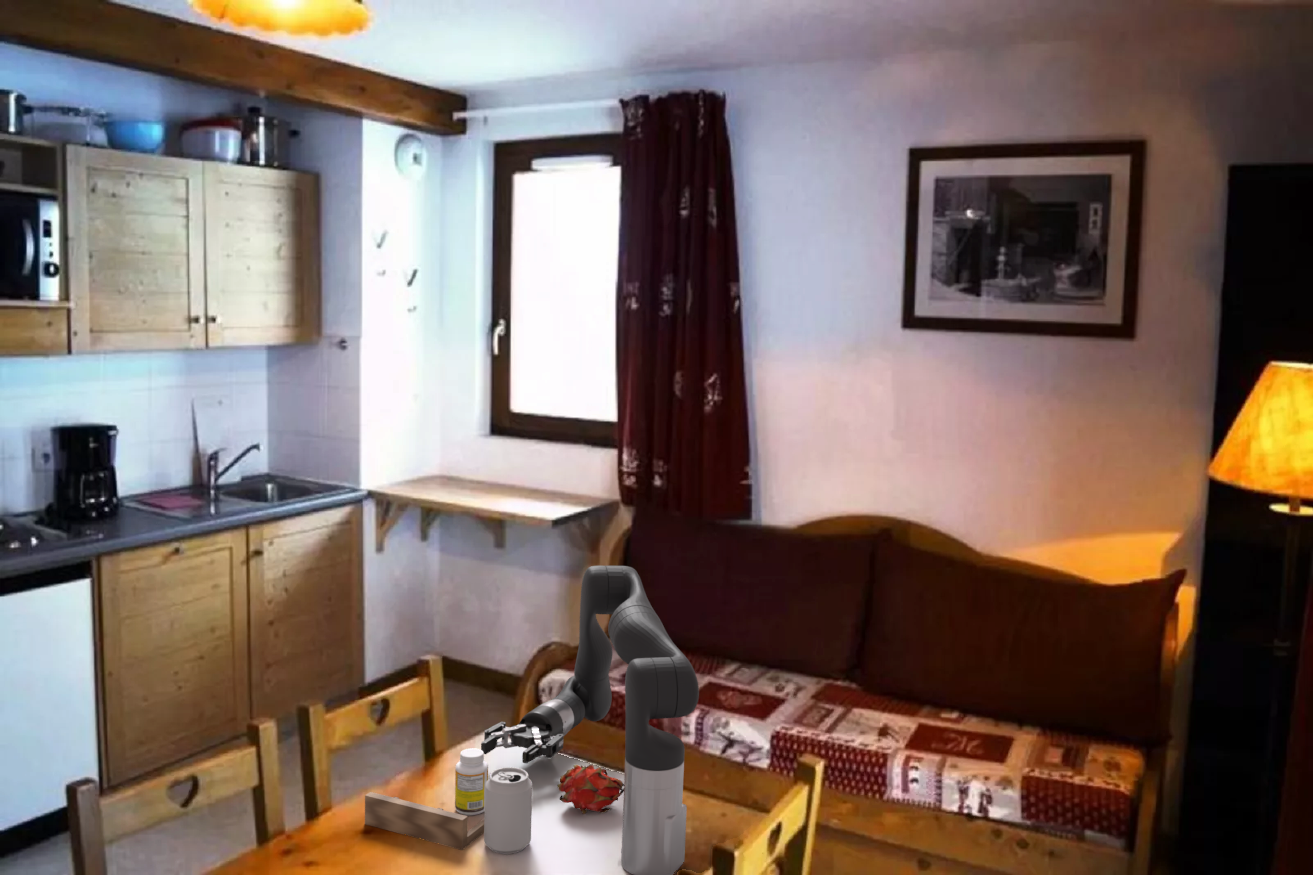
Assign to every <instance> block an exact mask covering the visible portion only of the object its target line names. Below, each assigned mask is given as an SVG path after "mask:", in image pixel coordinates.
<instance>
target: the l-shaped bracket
mask: <svg viewBox="0 0 1313 875" xmlns="http://www.w3.org/2000/svg"><path fill="white" fill-rule="evenodd" d="M468 816H469V815H463V814H460V813H458V812H452V811H448V810H444V808H441V807H437V808H435V807H433V806H428V805H425V804H421V803H416V802H412V801H408V800H404V799H401V798H400V797H398V796H397V797H396V796H393V797H392V796H389V795H385V794H381V793H376V792H373V791H370V792H367V793H366V794H365V795H364V825H366V826H371V827H374V828H378V829H382V830H385V831H389V832H394V833H397V834H400V835H404V834H406V835H405V836H407V835H408V837H411V836H412V838H415V839H419V838H421V839H420V840H422V839H424V841H427V842H431V843H435V844H437V843H439V844H438V845H442V846H446V847H450V848H452V849H457V850H460V851H463V850H464V849H465V848H466V847H468V846H469V845H470V844H472V843H473V842H475V841H476V840H477V839H478V838H479V837H481V836H482V835H484V819H482V820H481V821H480V822H478V823H477V824H475V825H474V826H473V827H472V828H470V829H469V828H468V826H469V825H468V824H469V821H468V818H469V817H468ZM468 829H469V830H468Z"/></svg>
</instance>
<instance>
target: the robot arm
mask: <svg viewBox="0 0 1313 875" xmlns="http://www.w3.org/2000/svg"><path fill="white" fill-rule="evenodd" d="M580 590H581V591H580V603H579V606H580V607H579V628H578V629H579V630H578V631H579V637H578V638H579V640H578V650H577V654H576V657H575V658H576V660H575V664H574V670H573V671H574V672H573V673H574V675H571V677H569V678H568V679H567V680H566V682H565V683H564V685H563V687H562V689H561V691H560V692H559V693H558V695H557V696H555V697H554V698H552V699H550V700H548V701H546V702H543V703H541V704H540V705H538V706H537V707H535V708H534V709H532V710H531V711H529V712H528V713H526V714H525V715H523V717H522V718H521V719H520V721H519V723H518V724H517V725H512V726H511V727H510V726H506V725H507V724H506V721H500V722H498V723H496V724H494V725H492V726H490V727H489V728H487V729H484V732H483V733H484V735H483V736H484V740H483V741H481V744H480V750H482V751H483V752H484V755H487V754H489V753H491V752H492V751H494V750H495V749H496V748H501V747H503V748H504V749H509V748H516V747H518V748H524V749H525V750H523V752H522V756H521V758H522V760H521V761H522V763H523V764H528V763H530V762H533V761H534V760H536V759H537V758H542V757H543V756H545V758H546V759H551V758H553V757H554V756H555V755H556V754H558V753H559V752H560V751H561V750H563V748H564V737H565V736H566V735H567V734H568V733H569V732H571V730H573V729H574V728H575V727H577V726H578V725H579V724H580V723H581V722H582V721H583V720H584V718H585V719H586V720H587V721H591V722H597V721H598V722H599V721H601V720H602V719H604V718H605V717H606V716H607V715H608V713H609V711H610V709H611V706H612V699H613V698H612V687H611V682H610V676H609V674H610V670H611V665H612V660H613V648H614V650H615V652H616V654H617V655H618V657H619V658H620V659H621V660H622V661H623V662H624V663H626V664H627V667H626V672H625V678H624V679H625V680H624V687H625V688H624V693H625V700H624V701H625V734H624V735H625V738H624V739H625V747H624V748H625V750H624V752H625V753H624V776H623V780H624V781H623V784H624V786H623V789H624V792H623V804H622V805H623V807H622V831H621V851H620V853H621V859H620V860H621V861H620V863H621V866H622V868H623V869H624V870H625V871H626V872H628V873H629V874H631V875H673V874H675V873H676V872H677V871H678V870H679V869H680V867H681V866H682V865H683V864H684V863H685V853H686V852H685V850H686V834H687V832H686V831H687V811H688V810H687V805H686V804H684V803H683V798H684V797H683V795H684V794H683V792H684V791H683V790H684V773H685V772H684V771H685V745H684V742H683V741H682V739H681V738H680V737H678V736H677V735H675V734H673V733H671V732H667V731H665V730H661V729H659V728H656V727H654V726H652V725H650V724H649V723H650V722H649V721H650V720H656V719H658V720H660V719H675V718H677V719H678V718H683V717H686V716H689V715H690V714H692V713H693V712H694V711H695V709H696V708H697V705H698V703H699V698H700V697H699V695H700V688H699V682H698V678H697V677H698V676H697V674H696V671H695V669H694V666H693V665H692V663H691V662H690V660H689V658H687V657H686V655H685V654H684V653H683V651H682V650H680V649H679V647H677V645H676V644H675V643H674V642H673V640H672V638H671V637H670V635H669V634H668V632H667V630H666V628H665V627H664V625H663V622H662V620H661V619H660V617H659V616H658V614H657V613H656V610H654V608H653V607H652V605H651V602H650V601H649V599H648V597H647V596H648V595H647V594H646V590H645V588H644V585H643V582H642V579H641V576H640V575H639V574H638V571H637V570H636V569H635V568H634V567H632V566H628V565H592V566H589V567H587V569H586V570H585V572H584V573H583V576H582V582H581V589H580ZM597 615H611V617H610V619H609V622H608V627H607V628H608V629H607V630H608V635H609V636H607V633H606V632H605V631H604V630H603V628H602V627H601V625H600V623H599V621H598V619H597ZM611 643H612V644H611ZM612 646H613V648H612ZM500 739H501V741H498V740H500ZM509 739H510V741H509ZM683 862H684V863H683ZM676 870H677V871H676ZM675 871H676V872H675ZM674 872H675V873H674Z"/></svg>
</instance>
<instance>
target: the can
mask: <svg viewBox="0 0 1313 875" xmlns="http://www.w3.org/2000/svg"><path fill="white" fill-rule="evenodd" d="M529 777H530V776H529V773H528V771H526V770H525V769H524V768H523V769H522V768H520V767H515V766H514V767H513V766H511V767H510V766H507V767H500V768H496V769H494V770H493V771H491V772H490V773H489V774H488V780H487V781H486V784H485V811H484V814H483V815H484V833H483V842H484V845H486V847H488V848H489V849H490V850H491V851H492V852H494V853H496V854H501V855H510V854H512V855H513V854H516V853H519V852H522V851H523V850H524V849H525V848H526V847H527V846H528V845H529V844H530V843H531V839H532V816H533V814H532V811H533V810H532V809H533V808H532V807H533V806H532V804H533V782H532V780H531V779H530V778H529Z"/></svg>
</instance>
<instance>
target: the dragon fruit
mask: <svg viewBox="0 0 1313 875" xmlns="http://www.w3.org/2000/svg"><path fill="white" fill-rule="evenodd" d="M572 767H573V768H571V769H570V768H569V769H567V770H566V771H565V773H564V774H562V775H560V777H559V783H558V784H557V789H558V790H559V792H562V793H564V795H563V794H561V795H560V796H559V798H558V799H559V801H561V802H562V803H564V804H570V803H571V804H573V807H574V809H575V810H579V811H580V812H581V814H582V815H585V814H587V812H588V811H593V812H597V813H600V814H605V813H606V812H609V811H610V810H612V807H607V806H611V805H612V804H614V802H616V801H618V800H619V797H620V796H622V795H623V794H624V788H623V787H624V782H623V781H622V780H621V779H619V778H617V777H611V776H609V775H608V774H609V773H608V771H607V769H604V768H602V767H598V768H594V765H593V764H589V765H587V766H586V765H584V766H583V765H582V764H580V765H579V764H574V765H573V766H572Z"/></svg>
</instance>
